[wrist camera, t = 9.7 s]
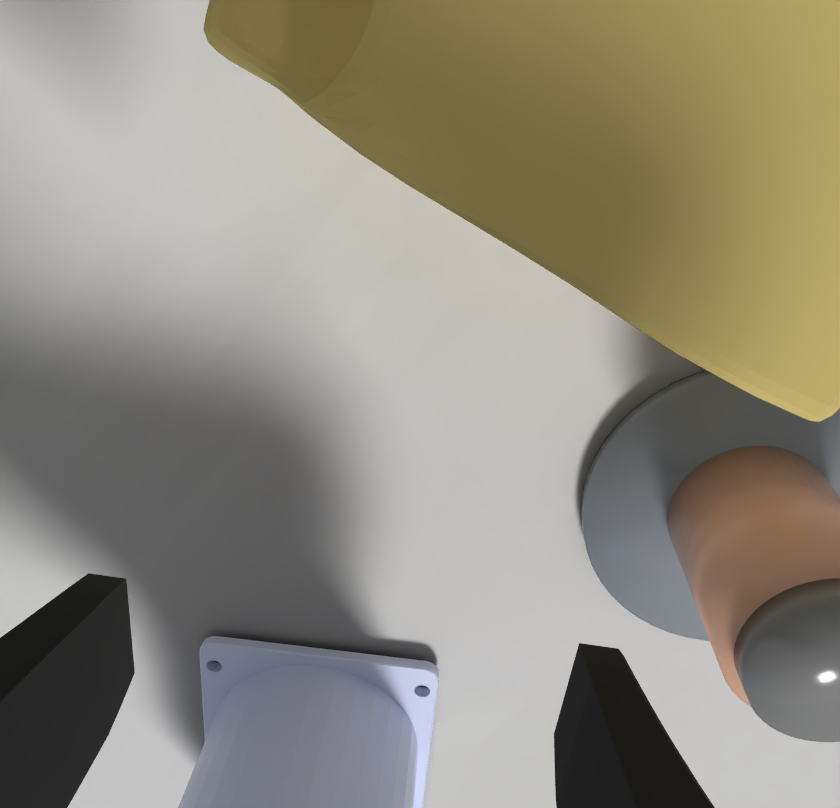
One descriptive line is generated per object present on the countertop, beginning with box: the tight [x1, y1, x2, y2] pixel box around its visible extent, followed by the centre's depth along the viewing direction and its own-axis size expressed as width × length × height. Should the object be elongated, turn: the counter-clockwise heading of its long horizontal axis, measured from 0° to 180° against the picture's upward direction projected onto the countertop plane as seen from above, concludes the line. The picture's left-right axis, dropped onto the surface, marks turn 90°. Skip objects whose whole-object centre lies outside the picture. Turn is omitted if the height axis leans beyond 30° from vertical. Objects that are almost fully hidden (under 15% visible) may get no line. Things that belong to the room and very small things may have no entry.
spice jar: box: [667, 446, 840, 742], centre depth 18 cm, size 4×4×6 cm
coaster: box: [581, 371, 840, 641], centre depth 21 cm, size 9×9×1 cm
